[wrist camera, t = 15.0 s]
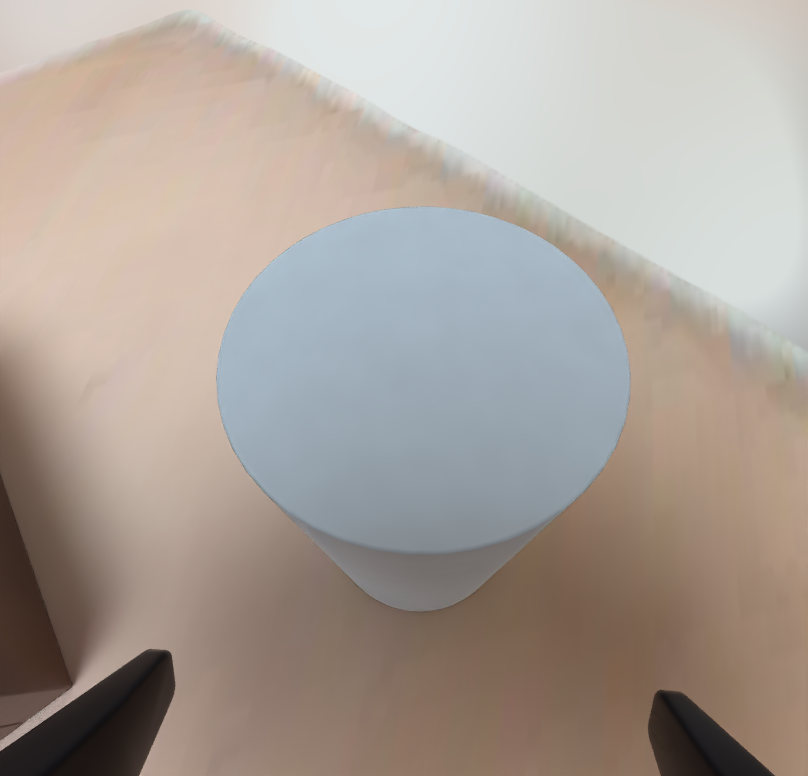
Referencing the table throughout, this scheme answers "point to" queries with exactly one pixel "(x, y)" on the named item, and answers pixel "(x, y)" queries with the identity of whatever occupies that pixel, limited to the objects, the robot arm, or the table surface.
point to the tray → (24, 633)
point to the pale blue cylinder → (423, 394)
